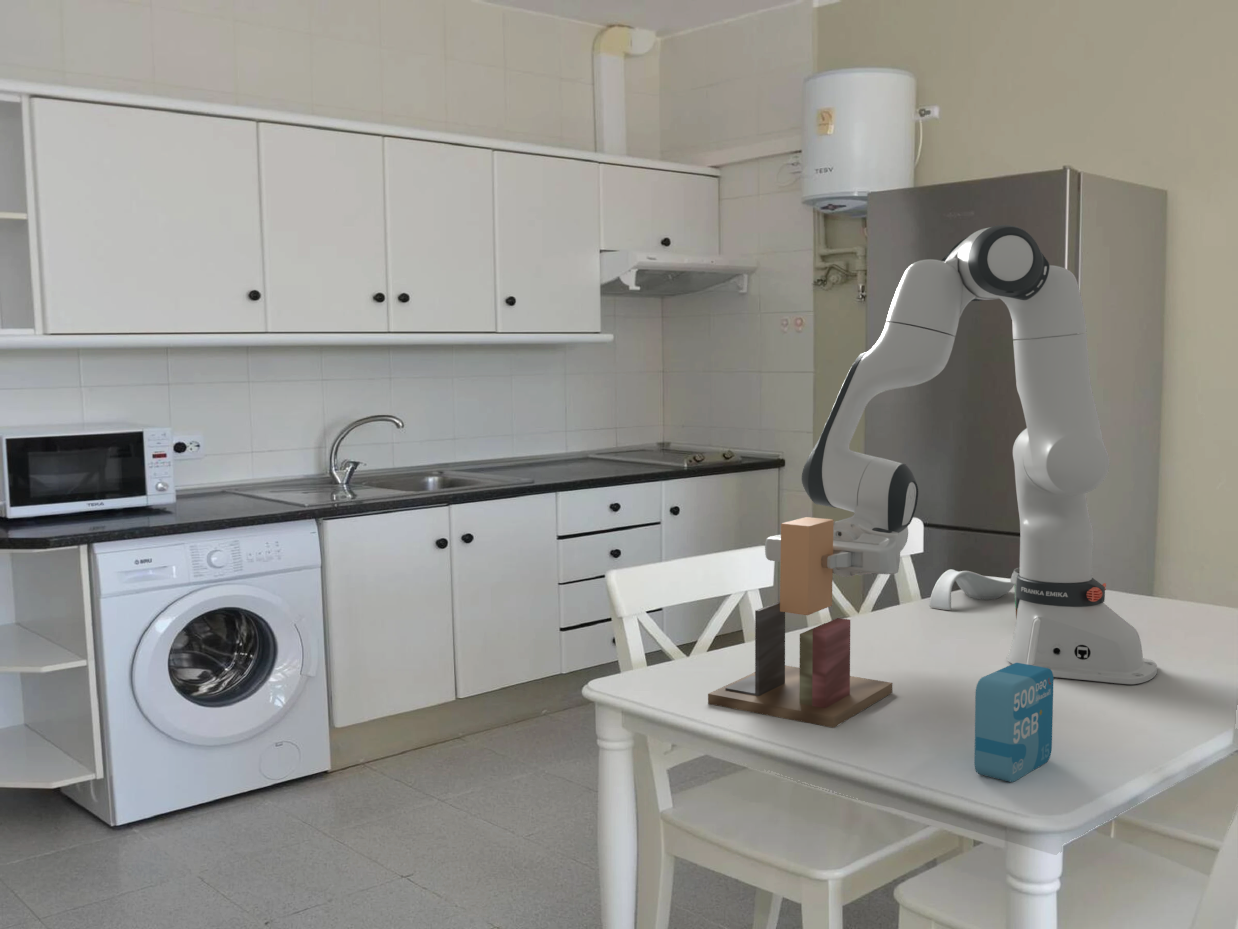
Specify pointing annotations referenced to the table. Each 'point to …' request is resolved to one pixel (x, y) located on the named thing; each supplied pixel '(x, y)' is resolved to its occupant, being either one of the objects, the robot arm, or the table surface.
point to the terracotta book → (805, 565)
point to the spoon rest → (967, 587)
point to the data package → (1013, 721)
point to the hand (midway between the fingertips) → (807, 560)
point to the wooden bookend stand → (801, 675)
